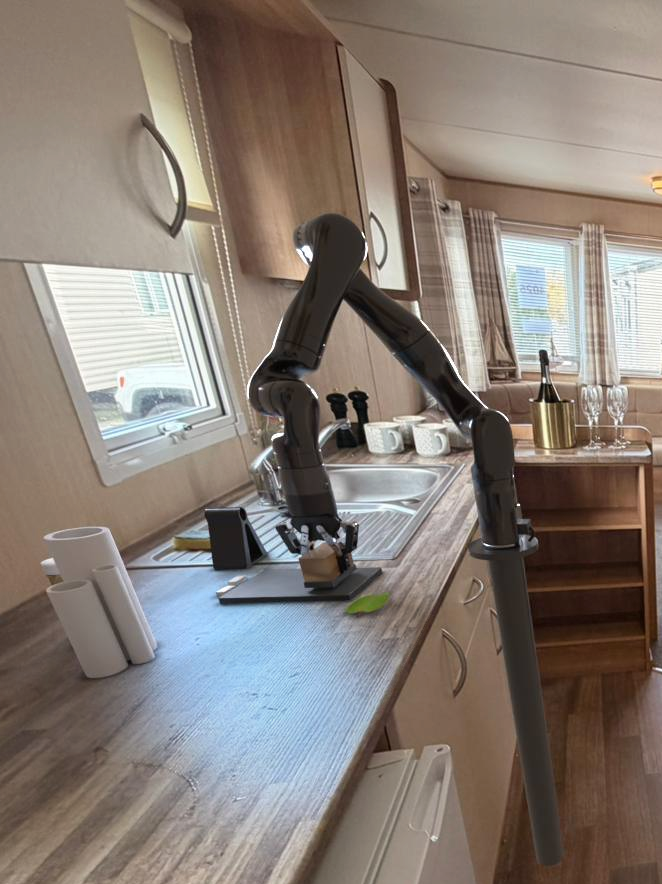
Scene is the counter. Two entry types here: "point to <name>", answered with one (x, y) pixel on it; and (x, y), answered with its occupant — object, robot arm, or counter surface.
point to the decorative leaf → (368, 603)
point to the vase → (98, 602)
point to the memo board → (297, 587)
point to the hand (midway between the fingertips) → (330, 572)
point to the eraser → (323, 568)
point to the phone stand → (232, 538)
